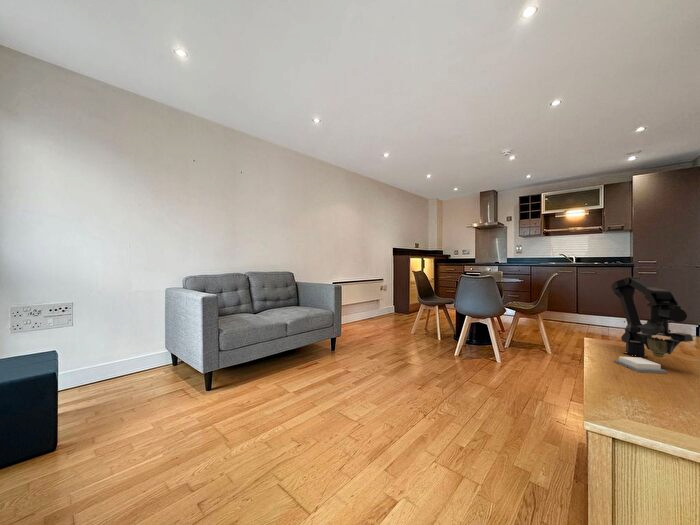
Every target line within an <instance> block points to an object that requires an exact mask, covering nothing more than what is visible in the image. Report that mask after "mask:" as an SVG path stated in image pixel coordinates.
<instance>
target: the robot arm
mask: <svg viewBox="0 0 700 525" xmlns="http://www.w3.org/2000/svg"><path fill="white" fill-rule="evenodd" d="M610 286H611V289H612V292H613V294H614V295H616V296H617V297H618V298H619V300H620V303H621V306H622V310H623V313H624V317H625V320H626V323H627V325H626V327H625V328H624V333H623V335H621V336H620V337H621V342H623V343H625V352H627V354H626V355H628V354H630V355H629V356H631V355H633V356H632V357H634V356H635V355H636V356H645V355H646V353H645V352H646V351H645V350H646V349H647V350H650V349H649V347H648V343H647V337H649V339H652V337H653V336H663V337H668V338H665V339H666V340H667V342H668V350H667V351H668V353H667V355H671V354H672V353H673V352H674V350H675V349H676V347H677V346H678V345H679V344H681V343H687V342H693V340H694V338H693V336H692V335H691V334H690V333H684V332H671V329H669V328H670V327H669V324H671V321H672V322H676V323H682V322H684V321H685V320H687V318H688V314H687V313H686V311H685V310H683V309H682V307H681V306H680V305H679V304H678V301H677V300H676V298H675V297H674V295H673V293H672V292H671V291H669V290H667V289H663V288H659V287H655V286H653V285H651V284H649V283H648V282H647V281H644V280H642V279H641V278H640V277H638V276H636V277H635V276H627V277H624V278H623V279H618V280H616V281H614V282H613V283H612V284H611V285H610ZM636 290H637V291H638V292H639V293H641V294H643V295H644V298H645V300H647V301H648V302H649V303H647V304H646V306H647V307H649V318H648V319H647V320H646V323H641V319H640V315H639V312H638V309H637V306H636V304H635V300H634V298H633V296H634V294H635V292H636ZM645 347H646V348H645ZM650 351H651V350H650Z"/></svg>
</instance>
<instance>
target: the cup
mask: <svg viewBox="0 0 700 525" xmlns="http://www.w3.org/2000/svg"><path fill="white" fill-rule="evenodd" d="M666 339H667V338H665V339H663V338H659V337H657V336H656V337H654V336H652V339H649V337H647V343H648V347H649V349H650V352H652V355H653V356H655V357H658V358H664V357H665V355H667V354H668V351H667V350H668V342H667V340H666Z"/></svg>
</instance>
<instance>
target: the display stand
mask: <svg viewBox="0 0 700 525" xmlns="http://www.w3.org/2000/svg"><path fill="white" fill-rule="evenodd" d="M613 362H614V363H615V364H617V363H618V365H620V366H622V365H623V366H622V367H624V366H625V368H627V367H628V368H627V369H629V368H630V369H629V370H632V371H635V372H636V371H637V373H643V372H646V373H645V374H648V373H649V374H662V373H667V374H668V370H666V369H663V368H662V367H661V364H660V363H657V362H654V361H651V360H648V359H646V358H644V357H634V356H619V357H618V359H613Z"/></svg>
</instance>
